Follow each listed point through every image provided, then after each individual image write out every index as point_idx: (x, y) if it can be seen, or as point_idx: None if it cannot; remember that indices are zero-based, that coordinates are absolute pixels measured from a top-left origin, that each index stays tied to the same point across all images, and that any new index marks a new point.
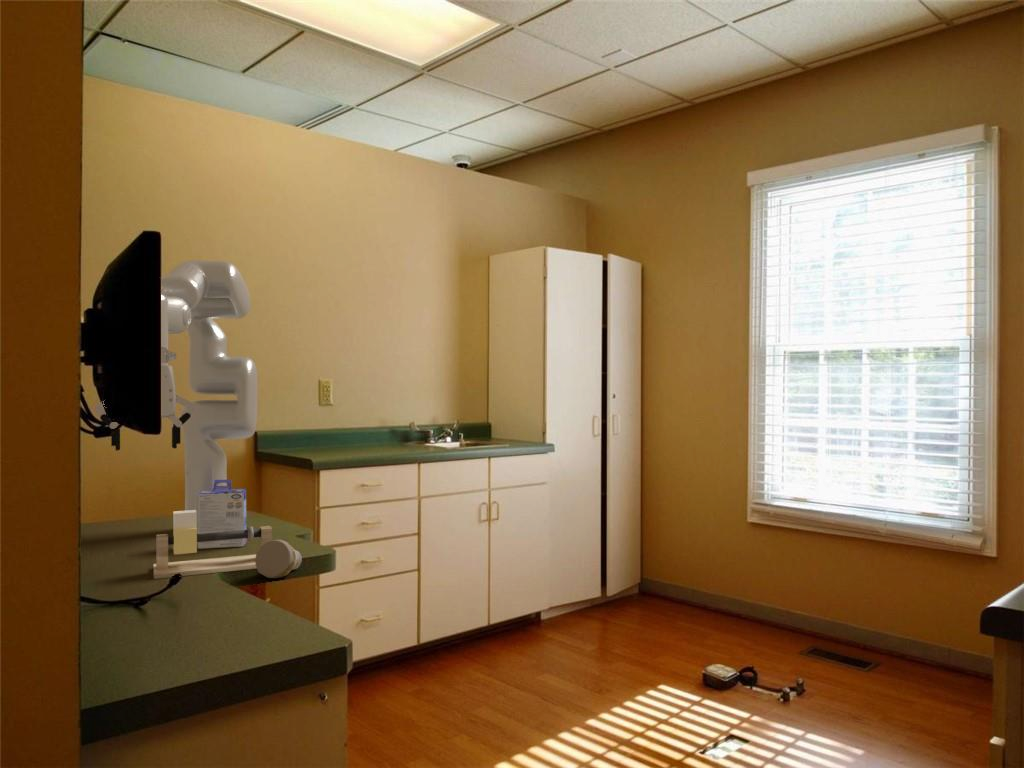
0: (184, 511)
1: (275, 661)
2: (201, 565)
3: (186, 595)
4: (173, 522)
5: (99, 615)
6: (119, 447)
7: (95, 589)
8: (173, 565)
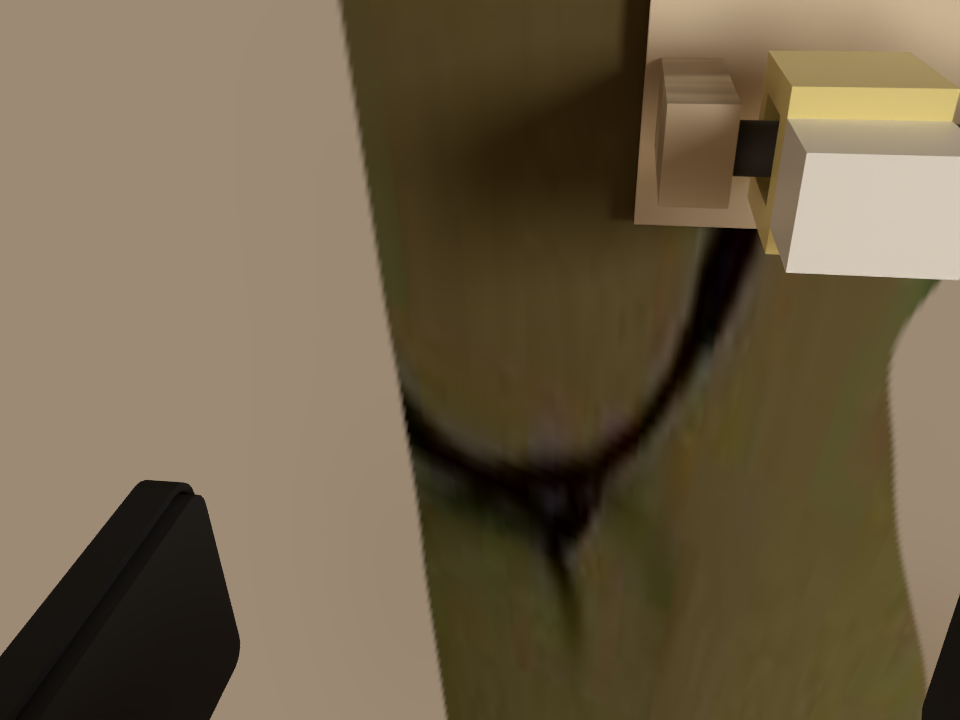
0: (886, 203)
1: None
2: None
3: (721, 510)
4: (786, 172)
5: (451, 580)
6: (225, 675)
7: (402, 278)
8: (753, 57)
